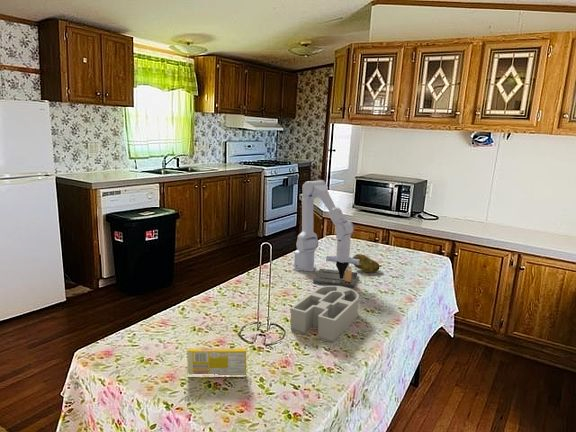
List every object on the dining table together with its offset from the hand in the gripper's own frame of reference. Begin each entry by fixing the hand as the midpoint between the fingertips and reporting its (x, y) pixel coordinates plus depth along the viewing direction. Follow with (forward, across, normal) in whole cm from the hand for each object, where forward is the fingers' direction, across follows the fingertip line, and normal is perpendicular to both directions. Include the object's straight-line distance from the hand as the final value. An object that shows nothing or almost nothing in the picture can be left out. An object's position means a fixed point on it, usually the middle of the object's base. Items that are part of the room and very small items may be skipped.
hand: (341, 277), depth 186 cm
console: (+2, -3, +4) cm, 6 cm away
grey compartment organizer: (+3, +1, -38) cm, 38 cm away
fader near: (+1, +3, 0) cm, 3 cm away
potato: (+3, +9, +20) cm, 22 cm away
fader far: (+1, +2, +8) cm, 8 cm away
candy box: (+3, -24, -80) cm, 84 cm away
